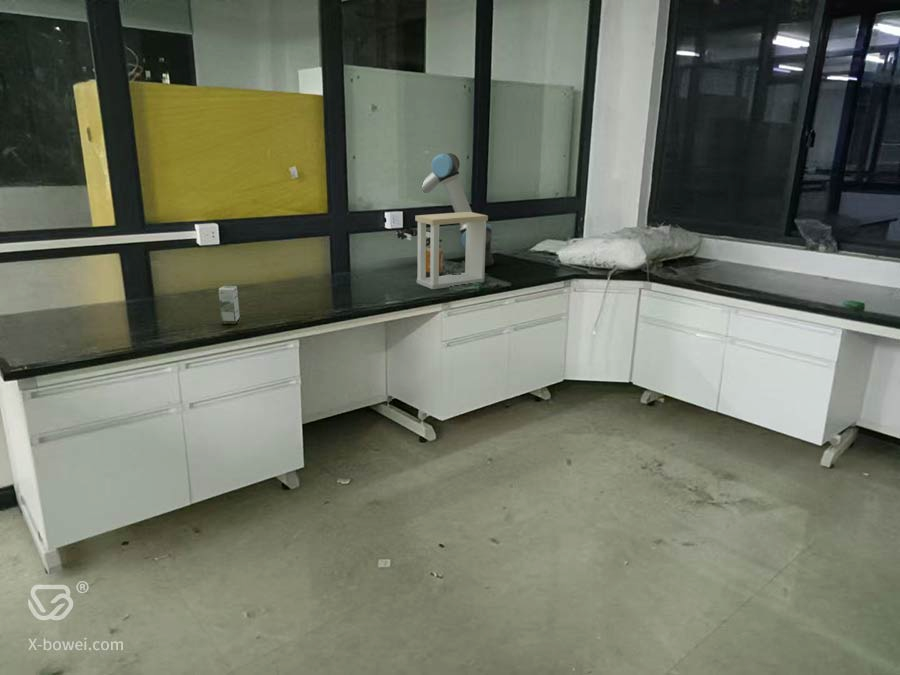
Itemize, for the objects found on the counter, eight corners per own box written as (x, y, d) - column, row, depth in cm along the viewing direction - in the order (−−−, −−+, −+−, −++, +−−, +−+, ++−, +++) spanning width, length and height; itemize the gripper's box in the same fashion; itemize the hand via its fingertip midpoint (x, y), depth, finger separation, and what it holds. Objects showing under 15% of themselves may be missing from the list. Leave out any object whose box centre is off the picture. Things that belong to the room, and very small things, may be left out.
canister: (442, 277, 330) (443, 239, 323) (421, 277, 330) (421, 238, 324) (443, 273, 338) (443, 236, 332) (422, 273, 338) (422, 236, 332)
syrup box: (240, 320, 253) (237, 285, 248) (236, 325, 247) (232, 289, 243) (226, 320, 253) (222, 285, 248) (221, 325, 247) (217, 289, 243)
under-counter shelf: (467, 275, 335) (469, 211, 324) (485, 281, 323) (487, 215, 312) (415, 282, 318) (415, 215, 308) (432, 289, 306) (432, 219, 295)
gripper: (421, 235, 360) (441, 242, 344) (382, 238, 347) (401, 245, 331) (421, 222, 358) (441, 228, 341) (382, 225, 345) (401, 231, 328)
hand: (421, 236), depth 336 cm, fingers open, 13 cm apart
